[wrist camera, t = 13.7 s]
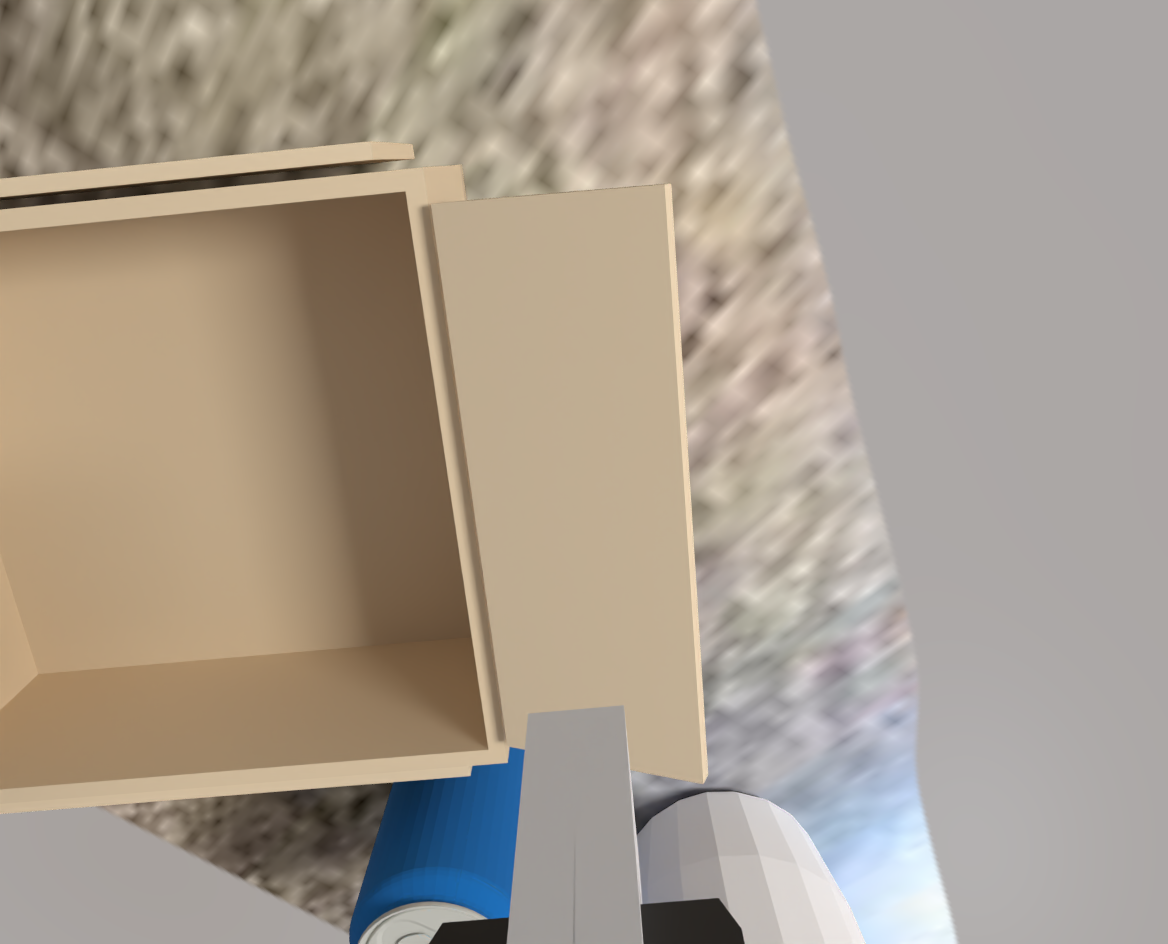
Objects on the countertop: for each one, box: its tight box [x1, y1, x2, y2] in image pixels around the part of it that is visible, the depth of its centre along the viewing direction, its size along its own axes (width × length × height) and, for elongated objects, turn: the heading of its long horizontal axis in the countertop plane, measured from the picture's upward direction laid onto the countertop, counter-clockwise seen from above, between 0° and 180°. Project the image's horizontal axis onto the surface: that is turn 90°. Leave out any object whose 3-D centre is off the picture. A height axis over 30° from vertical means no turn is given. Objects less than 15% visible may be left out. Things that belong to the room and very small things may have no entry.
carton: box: [0, 141, 510, 814], centre depth 35 cm, size 22×22×9 cm
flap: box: [431, 183, 708, 784], centre depth 28 cm, size 18×1×7 cm
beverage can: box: [349, 747, 525, 944], centre depth 38 cm, size 6×6×12 cm
